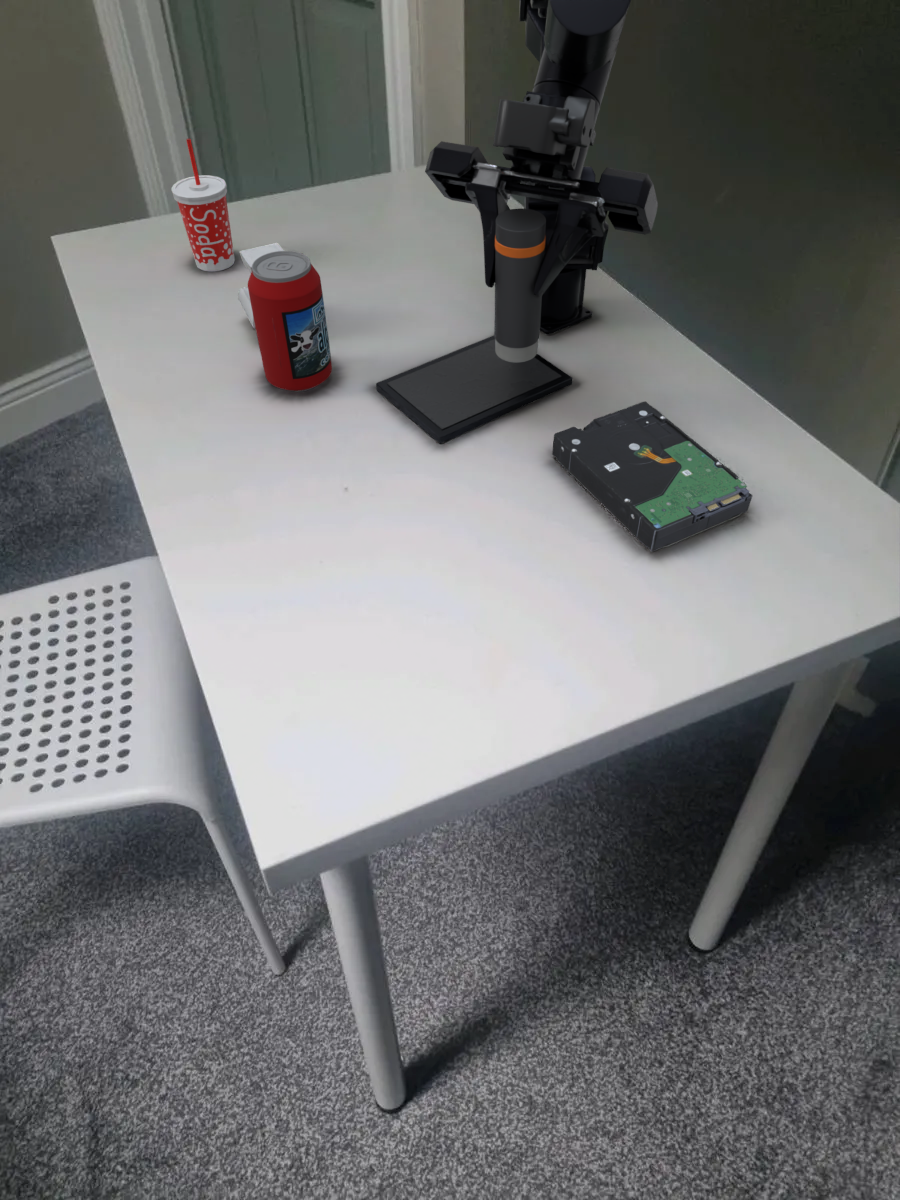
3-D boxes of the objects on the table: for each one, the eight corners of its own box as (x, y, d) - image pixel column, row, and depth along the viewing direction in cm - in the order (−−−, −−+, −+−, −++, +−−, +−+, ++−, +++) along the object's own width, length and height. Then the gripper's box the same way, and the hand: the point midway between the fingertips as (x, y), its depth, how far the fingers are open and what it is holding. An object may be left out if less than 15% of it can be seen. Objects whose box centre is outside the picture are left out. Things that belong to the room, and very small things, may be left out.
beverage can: (322, 400, 87) (305, 285, 79) (256, 393, 88) (232, 279, 80) (341, 362, 92) (327, 249, 83) (279, 356, 93) (258, 244, 84)
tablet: (503, 337, 95) (503, 330, 94) (572, 384, 88) (573, 376, 88) (376, 390, 88) (375, 382, 88) (440, 444, 82) (440, 436, 82)
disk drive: (548, 459, 81) (652, 556, 72) (550, 434, 79) (657, 530, 70) (640, 424, 84) (750, 512, 75) (644, 398, 82) (758, 486, 73)
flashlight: (527, 334, 82) (533, 204, 73) (546, 357, 79) (555, 225, 70) (486, 344, 81) (487, 213, 72) (504, 368, 78) (507, 235, 69)
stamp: (321, 340, 95) (310, 264, 89) (260, 354, 93) (245, 278, 87) (296, 301, 101) (284, 228, 94) (238, 314, 99) (223, 240, 93)
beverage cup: (181, 272, 106) (150, 148, 96) (202, 248, 110) (174, 127, 100) (229, 276, 105) (203, 151, 95) (248, 252, 109) (225, 130, 99)
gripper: (429, 30, 68) (375, 236, 70) (671, 59, 62) (605, 281, 64) (471, 104, 78) (423, 281, 80) (681, 134, 73) (625, 323, 75)
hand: (512, 290), depth 74 cm, fingers closed on flashlight, 4 cm apart
